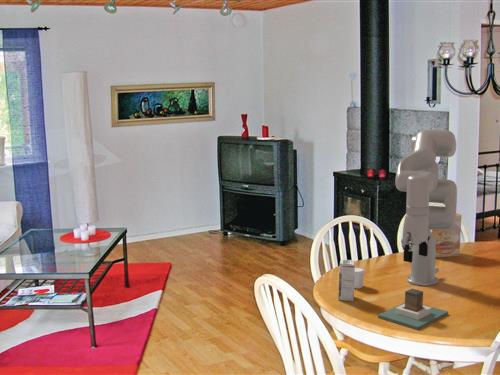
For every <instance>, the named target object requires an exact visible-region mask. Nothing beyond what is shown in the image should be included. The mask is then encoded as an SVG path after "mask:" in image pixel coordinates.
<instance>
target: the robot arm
mask: <svg viewBox="0 0 500 375" xmlns="http://www.w3.org/2000/svg"><path fill="white" fill-rule="evenodd" d="M410 148H411V154H409V155H407V156H406V157H404V158H403V159H402V160H401V161H400V162H399V164H398V166H397V170H396V174H395V181H394V182H395V183H394V186H395V187H396V189H397V190H398V191H399V192H405V193H406V204H405V205H406V206H405V210H406V211H405V216H404V217H405V218H404V221H403V227H402V229H403V230H402V237H401V238H402V239H401V241H400V242H401V247H402V250H403V261H404V262H406V263H410V264H411V265H410V274H409V275H407V277H406V281H407V282H408V283H410V284H412V285H415V286H422V287H424V286H427V287H429V286H435V285H437V284H438V283H439V277H437V276H436V275H437V273H439V272H440V269H439V268H437V267H436V258H437V257H436V238H435V236H434V235H433V233H432V232H431V231H430V230H445V231H450V230H453V229H454V227H455V223H456V213H457V204H458V187H457V183H456V182H455V181H454V180H452V179H445V178H444V179H443V178H442V179H441V178H440V177H439V164H438V162H437V161H436V159H437V158H438V157H439V158H441V157H442V158H452V157H453V156H454V155H455V154H456V150H457V140H456V135H455V134H454V132H452V131H451V130H447V129H422V130H421V131H419V132H417V134H416V135H414V136H413V137H412V138H411V140H410ZM430 203H431V204H432V203H434V204H443V205H444V206H442V205H441V206H436V205H430Z"/></svg>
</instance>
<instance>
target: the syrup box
mask: <svg viewBox="0 0 500 375" xmlns="http://www.w3.org/2000/svg"><path fill="white" fill-rule="evenodd" d="M355 267H356V260H352V259H340V262H339V270H338V272H339V273H338V298H337V299H338V301H349V302H353V301H354V296H355V288H354V277H355Z"/></svg>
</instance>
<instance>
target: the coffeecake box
mask: <svg viewBox="0 0 500 375" xmlns="http://www.w3.org/2000/svg"><path fill="white" fill-rule="evenodd" d="M462 216H463V215H462V214H461V213H457V212H456V223H455V227H454V229H453V230H450V231H445V230H430V231H431V232H432V233H433V235H434V236H435V238H436V258H445V257H447V258H449V257H457V256H458V257H459V256H460V250H461V249H460V248H461V247H460V246H461V231H462Z"/></svg>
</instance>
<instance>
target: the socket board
mask: <svg viewBox="0 0 500 375" xmlns="http://www.w3.org/2000/svg"><path fill="white" fill-rule="evenodd" d="M447 315H449V311H448V310H444V309H441V308H437V307H433V306H429V305H426V304H423V309H422V310H420V311H418V312H414V311H411V310H407V309H405V302H404V303H401V304H399V305H396V306H394V307H392V308H390V309H388V310H386V311H384V312H381V313H380V314H377V318H379V319H382V320H385V321H387V322H391V323H395V324H398V325H401V326H404V327H408V328H410V329H415V330H417V331H418V330H420V329H422V328H424V327H427V326H428V325H430V324H432V323H434V322H436V321H437V320H440V319H442V318H443V317H446V316H447Z"/></svg>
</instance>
